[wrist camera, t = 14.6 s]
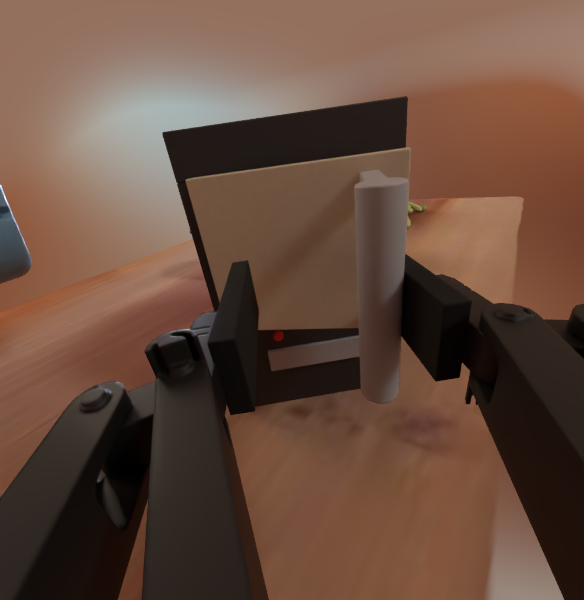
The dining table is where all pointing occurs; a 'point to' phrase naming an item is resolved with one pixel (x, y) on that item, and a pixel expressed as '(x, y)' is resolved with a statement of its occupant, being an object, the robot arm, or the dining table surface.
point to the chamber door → (318, 248)
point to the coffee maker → (274, 152)
